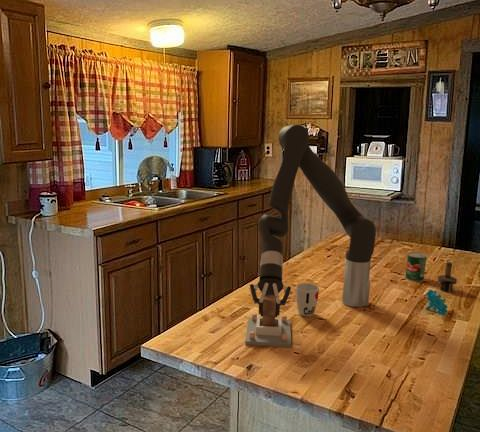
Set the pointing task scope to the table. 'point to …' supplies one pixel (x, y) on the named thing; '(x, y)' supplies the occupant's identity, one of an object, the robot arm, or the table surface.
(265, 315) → the brown block
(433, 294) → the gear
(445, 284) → the industrial component
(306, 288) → the cup
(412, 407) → the table surface
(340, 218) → the robot arm
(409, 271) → the canned tomato
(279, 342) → the housing plate
